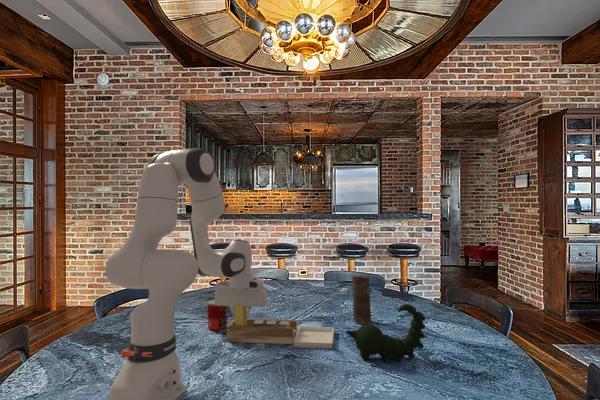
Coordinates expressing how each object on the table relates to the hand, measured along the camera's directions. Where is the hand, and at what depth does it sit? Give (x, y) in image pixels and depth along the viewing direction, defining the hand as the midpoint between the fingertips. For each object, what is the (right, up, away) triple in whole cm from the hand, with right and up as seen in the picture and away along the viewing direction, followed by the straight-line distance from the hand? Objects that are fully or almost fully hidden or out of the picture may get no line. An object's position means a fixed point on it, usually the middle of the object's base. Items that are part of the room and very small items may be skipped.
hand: (241, 317), depth 136 cm
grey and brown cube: (+17, -5, -2) cm, 18 cm away
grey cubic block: (+7, -5, -1) cm, 9 cm away
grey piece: (+12, -5, -2) cm, 13 cm away
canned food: (-12, -8, +11) cm, 18 cm away
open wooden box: (+8, -7, -1) cm, 11 cm away
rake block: (0, -5, 0) cm, 5 cm away
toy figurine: (+51, -7, -21) cm, 55 cm away
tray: (+28, -7, -4) cm, 29 cm away
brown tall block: (+49, -7, +15) cm, 52 cm away
